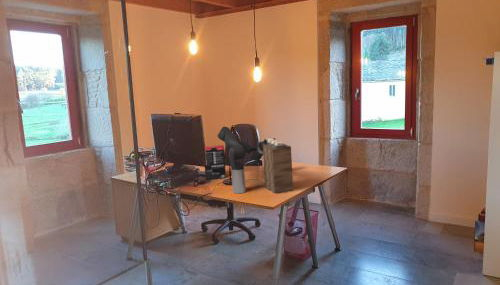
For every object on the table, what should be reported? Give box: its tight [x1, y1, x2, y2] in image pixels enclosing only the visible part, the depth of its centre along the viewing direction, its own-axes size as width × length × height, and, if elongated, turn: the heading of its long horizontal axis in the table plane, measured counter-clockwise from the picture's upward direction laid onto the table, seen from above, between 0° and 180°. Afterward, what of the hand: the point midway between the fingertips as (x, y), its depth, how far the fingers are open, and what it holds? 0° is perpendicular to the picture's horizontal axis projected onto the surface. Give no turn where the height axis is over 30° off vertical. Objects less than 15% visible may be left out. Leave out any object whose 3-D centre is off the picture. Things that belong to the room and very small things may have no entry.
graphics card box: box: [204, 144, 227, 180], centre depth 315 cm, size 17×7×27 cm, turn 98°
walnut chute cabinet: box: [262, 142, 294, 194], centre depth 275 cm, size 18×14×34 cm
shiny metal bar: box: [263, 137, 283, 146], centre depth 277 cm, size 24×4×3 cm, turn 20°
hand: (270, 139), depth 281 cm, fingers open, 6 cm apart
